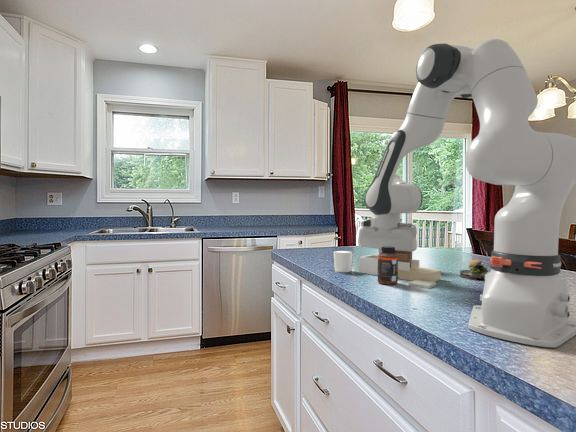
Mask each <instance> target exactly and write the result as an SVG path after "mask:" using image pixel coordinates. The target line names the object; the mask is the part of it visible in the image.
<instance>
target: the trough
mask: <svg viewBox="0 0 576 432" xmlns="http://www.w3.org/2000/svg"><path fill="white" fill-rule="evenodd" d="M358 260H359V261H358V269H359V270H358V273H359V274H365V273H366V274H367V275H373V276H378V254H369V255H368V254H367V255H362V256H359V259H358ZM441 271H442V270H440V269H434V268H426V267H420V259H414V258H412V259H411V268H410V263H407V262H399V261H398V278H399V279H398V280H404V281H409V282H411V281H414V280H423V281H429V282H436V283H437V282H438V281H440V280H441V279H442V276H441Z"/></svg>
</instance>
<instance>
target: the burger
mask: <svg viewBox="0 0 576 432" xmlns="http://www.w3.org/2000/svg"><path fill="white" fill-rule="evenodd" d="M471 257H473V256H472V255H471ZM482 263H483V262H482V260H480V259H472V261H470V262H469V264H468V268H469V269H462V270H459V277H461V278H462V279H466V280H472V281H477V279H480V280H481V279H483V280H485V275H486V274H487V273H489V272H490V271H489V270H488V269H487V267H485V266H484V265H483V264H482Z"/></svg>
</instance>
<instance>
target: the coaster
mask: <svg viewBox="0 0 576 432" xmlns="http://www.w3.org/2000/svg"><path fill="white" fill-rule="evenodd" d="M407 283H408V284H407V285H408V286H409V287H410V286H411V287H417V288H423V289H430V288H433V287H436V285H437V281H436V282H429V281H423V280H414V281H408V282H407Z"/></svg>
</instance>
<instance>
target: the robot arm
mask: <svg viewBox="0 0 576 432" xmlns="http://www.w3.org/2000/svg"><path fill="white" fill-rule="evenodd" d="M415 67H416V68H415V75H416V79H417V84H416V86H415V88H414V90H413V93H412V96H411V98H410V102H409V105H408V107H407V111H406V115H405V118H404V120H403V122H402V124H401V125H400V127H399V128H398V130H396V131H395V132H393V134H392V135H391V136H390V138H389V140H388V142H387V143H386V147H385V150H384V151H383V155H382V157H381V159H380V162H379V164H378V167H377V170H376V172H375V175H374V177H373V179H372V181H371V183H370V185H369V187H368V188H367V190H366V192H365V196H364V202H365V205H366V207H367V208H368V210H369V211H370V212H371V213H372V214H373V217H369V218H368V219H364V220H362V221H360V226H361V228H360V230H359V233H358V244H359V246H360V247H361V248H368V249H375V250H376V249H377V250H378V251H377V252H378V254H379V253H381V252H382V250H381V247H382V246H394V247H395V250H397V251H408V252H412V253H413V252H415V251H416V250H417V248H418V242H417V241H418V240H417V234H418V233H417V227H416V226H415V225H414V224H413V223H405V222H401V214H412V213H416V212H417V211H419V209H420V208H421V207H422V205H423V202H424V201H423V199H424V198H423V196H424V195H423V191H422V190H421V188H420V187H419V186H418V185H416V184H413V183H409V182H406V181H404V180H402V179H401V177H400V176H399V175H397V171H398V169H399V166H400V163H401V162H402V160H404V158H405V157H406V156H407V155H408V154H410V153H411V152H415V151H416V150H419V149H421V148H424V147H427V146H429V145H431V144H433V143H434V142H435V141H437V140H438V139H439V137H441V134H442V133H443V130H444V127H445V125H446V124H445V123H446V119H447V116H448V112H449V110H450V109H449V108H450V106H451V103H452V101H453V100H454V99H455V98H456V97H458V96H460V97H461V98H462V99H467V98H471V97H472V100H473V103H474V107H475V110H476V113H477V116H478V121H479V131H478V134H477V136H475V138H473V139H472V141H471V142H470V143H469V145H468V147H467V150H466V152H465V158H464V159H465V161H464V162H465V166H466V167H465V168H466V169H467V170H466V171H468V173H469V175H470V176H471V177H472V178H473V179H474V180H477V181H481V182H484V183H486V184H487V183H488V184H492V185H496V186H515V187H514V191H513V194H512V197H511V198H510V200H509V202H508V203H507V204H506V205H505V206H503V207H502V208H500V209H499V210H498V211H497V213H496V214H495V216H494V223H493V224H494V231H493V249H492V251H491V253H490V254H491V255H490V258H489V260H490V261H489V268H490V271H488V272H489V273H487V274H486V275H485V279H484V285H483V291H482V293H481V294H480V295H479V297H478V300H479V301H480V302H481V305H473V307H472V309H471V312H470V317H469V320H468V322H467V323H468V325H467V328H468V329H470V330H472V331H473V332H476V333H480V334H482V335H485V336H489V337H493V338H496V339H500V340H501V339H502V340H505V341H510V342H512V343H513V342H514V343H517V344H518V343H519V344H523V345H528V346H529V345H530V346H535V347H536V346H537V347H542V348H552V349H553V348H558V347H560V346H561V345H562V344H564V343H566V342H567V341H569V340H570V339H572V338H573V337H575V336H576V322H574V321H571V319H570V318H571V317H570V310H571V309H570V308H571V305H570V303H571V302H570V298H571V297H570V285H569V284H568V283H567V282H565V280H563V278H561V276H560V273H561V266H562V261H561V255H560V254H559V239H560V238H559V237H560V223H561V216H562V212H563V209H564V205H565V203H566V201H567V198H568V196H569V194H570V192H571V191H572V189H573V187H574V185H575V184H576V137H573V136H571V135H567V134H564V133H558V132H545V131H536V130H534V129H533V128H532V127H531V126H530V123H529V118H530V116H531V115H533V113H534V112H535V110H536V108H537V105H538V100H539V99H538V96H537V94H536V91H535V89H534V87H533V84H532V82H531V80H530V77H529V75H528V72H527V71H526V69H525V66H524V63H523V62H522V60H521V59H520V57H519V56H518V55H517V53H516V52H515V50H514V49H513V47H512V46H511V45H510V43H508V42H506V41H505V40H503V39H499V38H494V39H489V40H485V41H483V42H481V43H480V44H477V46H475V47H474V48H471V47H468V46H464V45H454V44H448V43H436V44H435V43H434V44H431V45H429V46H427V47H426V48H425V49H424V50H423V51H422V52H421V54H420V56H419V57H418V60H417V62H416V66H415ZM405 226H408V227H405Z"/></svg>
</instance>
